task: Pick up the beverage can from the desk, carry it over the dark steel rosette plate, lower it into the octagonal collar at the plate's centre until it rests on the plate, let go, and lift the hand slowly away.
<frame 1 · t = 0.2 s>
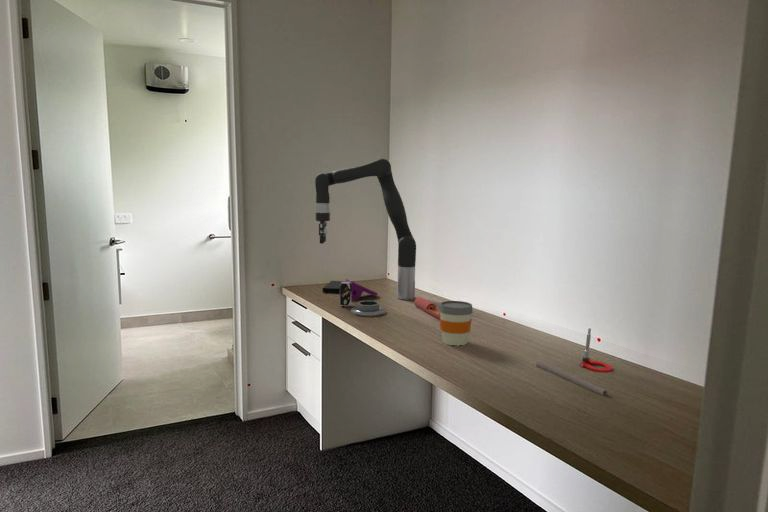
hand: (322, 242, 274), 29 cm above the table, tool pointing down, fingers open, 8 cm apart
rosette socket: (368, 312, 244), on the table
tow hook: (596, 368, 174), on the table
metal rod: (568, 381, 163), on the table
beverage can: (345, 306, 256), on the table
blood vessel: (437, 317, 239), on the table
mounting bracket: (360, 297, 278), on the table
reusable coffee cup: (454, 343, 199), on the table
external hard drive: (339, 290, 298), on the table
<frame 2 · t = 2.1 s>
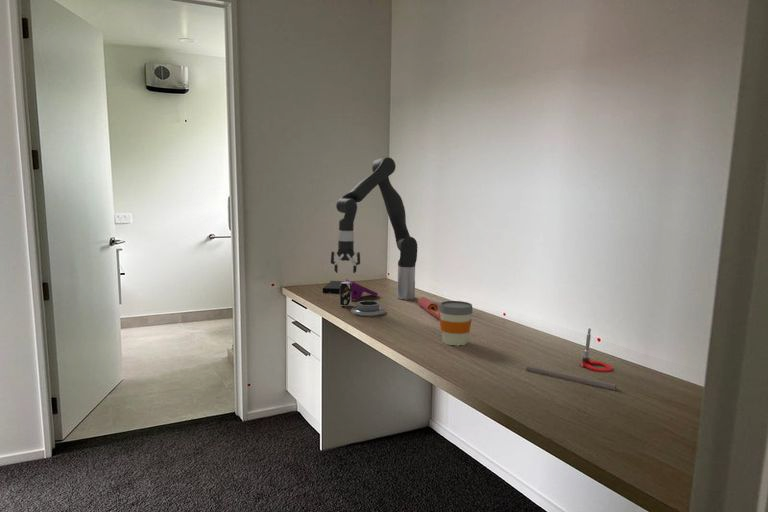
hand: (345, 272, 254), 17 cm above the table, tool pointing down, fingers open, 8 cm apart
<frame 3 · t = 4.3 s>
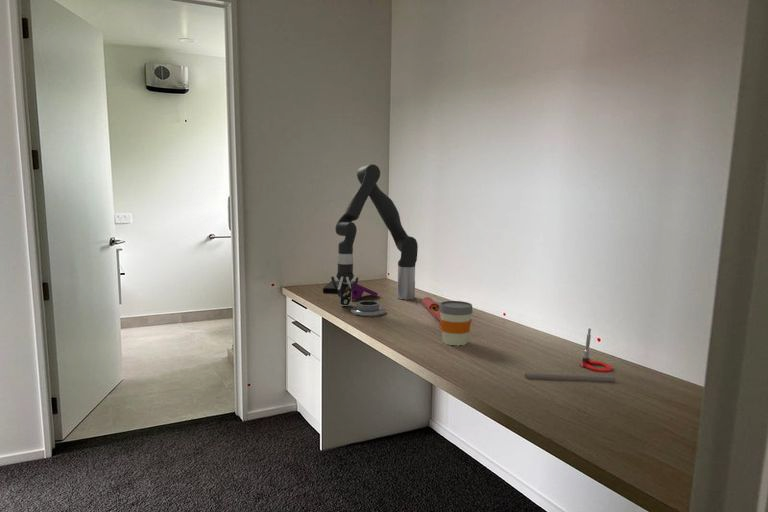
hand: (344, 296, 255), 5 cm above the table, tool pointing down, fingers closed on beverage can, 4 cm apart
beverage can: (345, 306, 256), on the table, touching gripper
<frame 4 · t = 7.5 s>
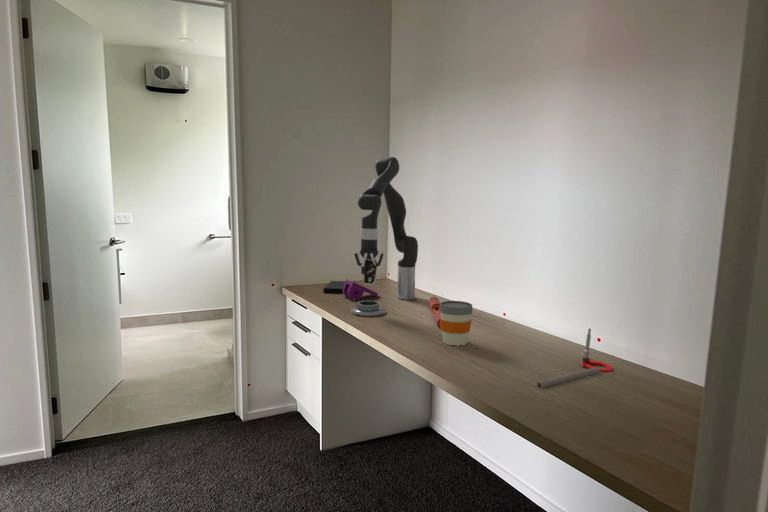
hand: (368, 274, 242), 18 cm above the table, tool pointing down, fingers closed on beverage can, 4 cm apart
beverage can: (369, 284, 242), point 13 cm above the table, touching gripper
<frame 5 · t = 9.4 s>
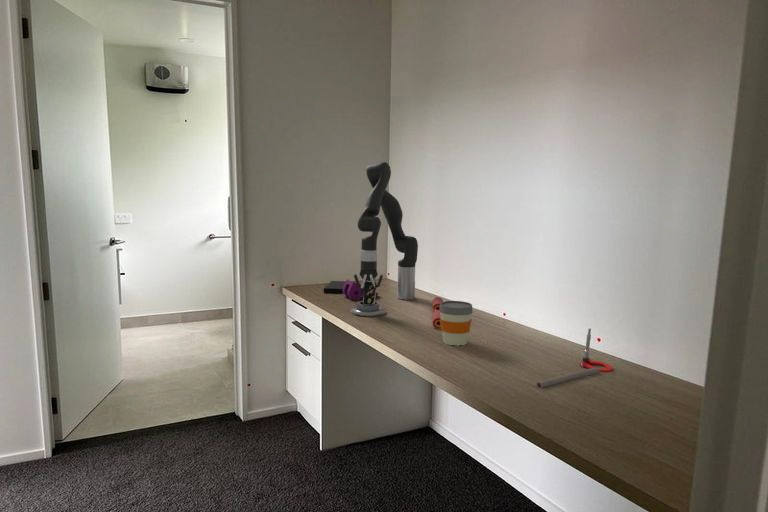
hand: (368, 295, 243), 8 cm above the table, tool pointing down, fingers closed on beverage can, 4 cm apart
beverage can: (368, 305, 244), point 3 cm above the table, touching gripper
when the fingers open (6 cm above the table, at t = 11.1 s): beverage can stays where it is, resting on rosette socket.
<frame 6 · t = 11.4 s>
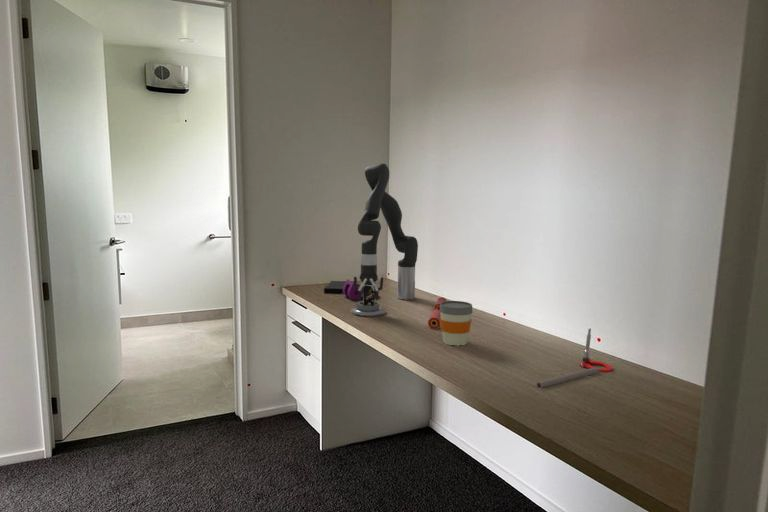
hand: (368, 298, 243), 7 cm above the table, tool pointing down, fingers open, 6 cm apart
beverage can: (369, 309, 244), point 1 cm above the table, touching rosette socket
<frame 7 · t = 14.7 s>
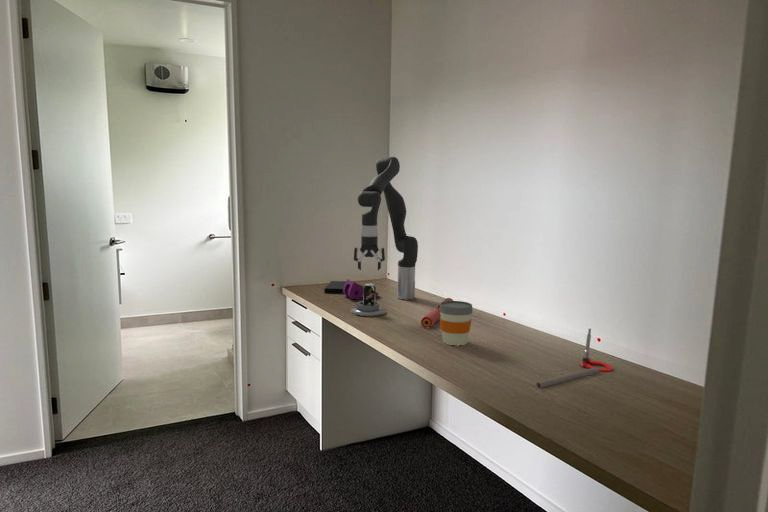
hand: (369, 269, 241), 20 cm above the table, tool pointing down, fingers open, 8 cm apart
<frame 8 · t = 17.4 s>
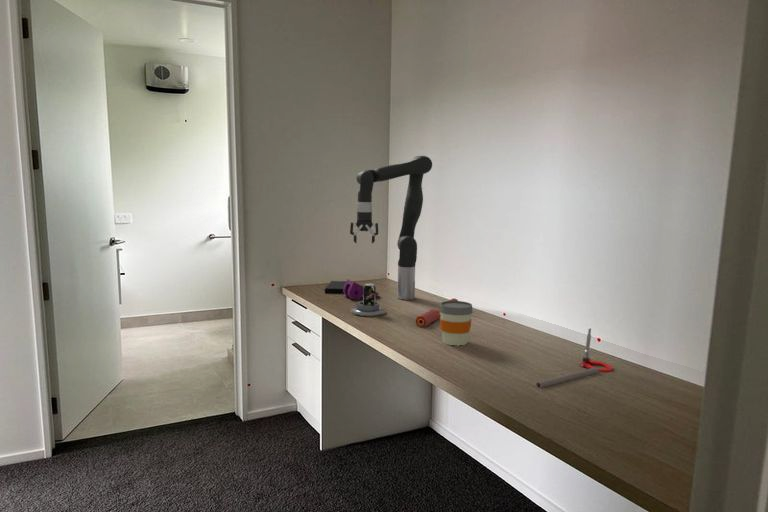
hand: (364, 243, 264), 30 cm above the table, tool pointing down, fingers open, 8 cm apart
at the end: beverage can 0.4 cm off-centre on the rosette socket, point 1.3 cm above the rosette socket's base; beverage can tilted 0°; the gripper is holding nothing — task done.
